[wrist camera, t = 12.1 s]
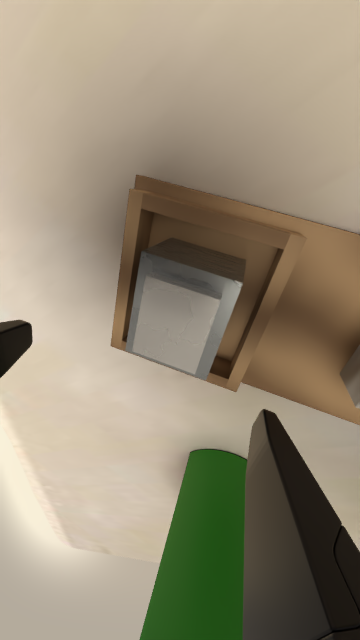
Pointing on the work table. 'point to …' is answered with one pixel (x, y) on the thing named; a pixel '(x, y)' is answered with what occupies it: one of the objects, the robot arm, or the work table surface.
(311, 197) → the work table surface
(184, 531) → the motor
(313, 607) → the robot arm
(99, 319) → the work table surface
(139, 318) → the stepped grey block
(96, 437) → the work table surface
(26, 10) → the work table surface
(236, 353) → the wooden tray
